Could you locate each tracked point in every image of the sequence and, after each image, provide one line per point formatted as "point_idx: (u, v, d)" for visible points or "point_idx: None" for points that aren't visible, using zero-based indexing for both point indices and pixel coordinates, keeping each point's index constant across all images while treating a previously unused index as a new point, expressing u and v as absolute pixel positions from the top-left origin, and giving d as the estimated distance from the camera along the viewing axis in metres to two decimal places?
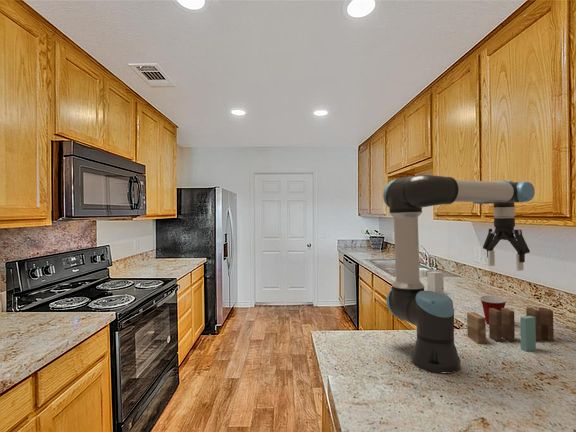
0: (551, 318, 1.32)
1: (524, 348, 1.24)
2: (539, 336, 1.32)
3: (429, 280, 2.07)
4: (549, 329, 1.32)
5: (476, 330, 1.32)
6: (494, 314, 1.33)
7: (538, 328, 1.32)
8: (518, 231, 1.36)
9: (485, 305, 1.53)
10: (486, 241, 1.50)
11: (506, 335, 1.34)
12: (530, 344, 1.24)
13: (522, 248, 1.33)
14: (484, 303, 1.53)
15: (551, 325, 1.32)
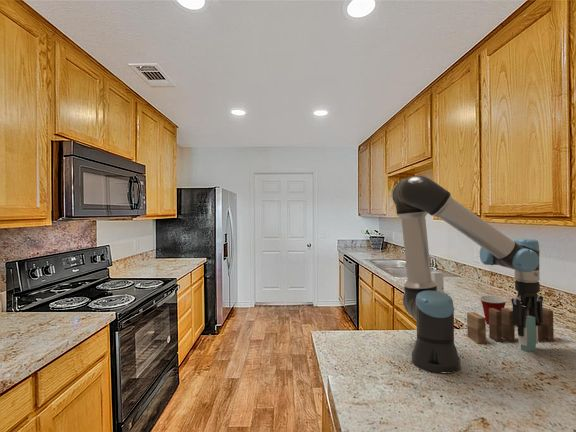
0: (551, 318, 1.32)
1: (524, 348, 1.24)
2: (539, 336, 1.32)
3: None
4: (549, 329, 1.32)
5: (476, 330, 1.32)
6: (494, 314, 1.33)
7: (538, 328, 1.32)
8: (513, 301, 1.23)
9: (485, 305, 1.53)
10: None
11: (506, 335, 1.34)
12: (530, 344, 1.24)
13: None
14: (484, 303, 1.53)
15: (551, 325, 1.32)
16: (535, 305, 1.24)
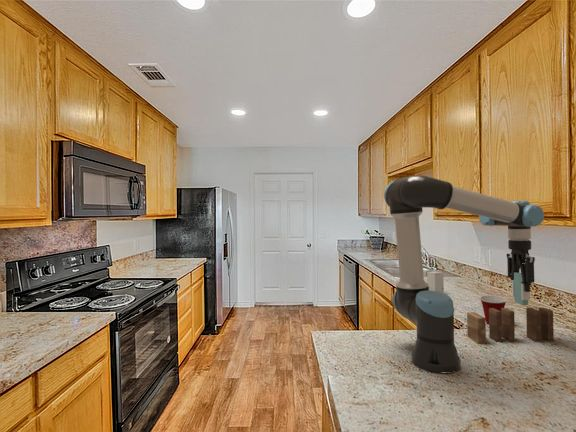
0: (551, 318, 1.32)
1: (526, 303, 1.32)
2: (539, 336, 1.32)
3: (429, 280, 2.07)
4: (549, 329, 1.32)
5: (476, 330, 1.32)
6: (494, 314, 1.33)
7: (538, 328, 1.32)
8: (530, 259, 1.28)
9: (485, 305, 1.53)
10: (508, 268, 1.40)
11: (506, 335, 1.34)
12: None
13: (527, 277, 1.29)
14: (484, 303, 1.53)
15: (551, 325, 1.32)
16: None
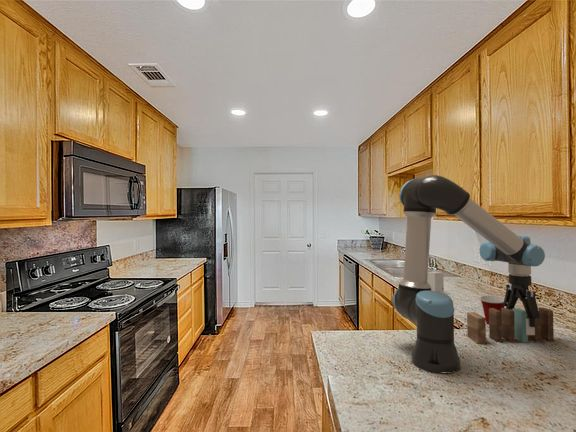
0: (551, 318, 1.32)
1: (526, 340, 1.32)
2: (539, 336, 1.32)
3: (429, 280, 2.07)
4: (549, 329, 1.32)
5: (476, 330, 1.32)
6: (494, 314, 1.33)
7: (538, 328, 1.32)
8: (530, 293, 1.28)
9: (485, 305, 1.53)
10: (505, 298, 1.42)
11: (506, 335, 1.34)
12: None
13: (531, 312, 1.27)
14: (484, 303, 1.53)
15: (551, 325, 1.32)
16: None
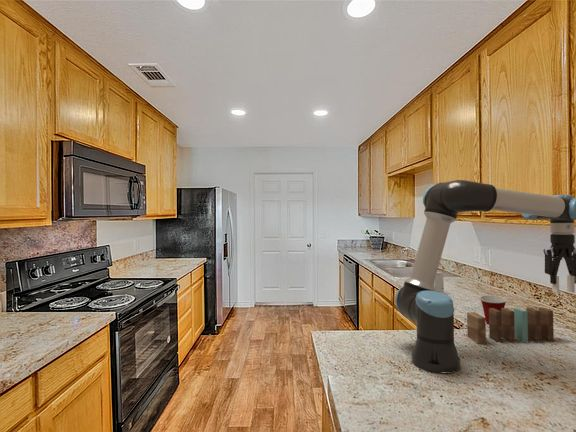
0: (551, 318, 1.32)
1: (526, 340, 1.32)
2: (539, 336, 1.32)
3: None
4: (549, 329, 1.32)
5: (476, 330, 1.32)
6: (494, 314, 1.33)
7: (538, 328, 1.32)
8: (545, 251, 1.35)
9: (485, 305, 1.53)
10: None
11: (506, 335, 1.34)
12: None
13: None
14: (484, 303, 1.53)
15: (551, 325, 1.32)
16: (570, 256, 1.33)
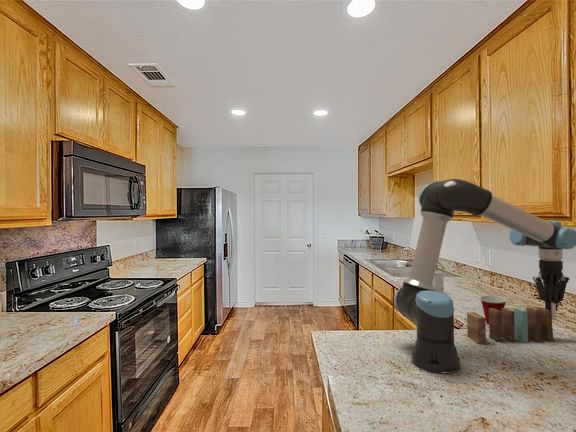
0: (549, 318, 1.32)
1: (526, 340, 1.32)
2: (539, 336, 1.32)
3: None
4: (548, 329, 1.32)
5: (476, 330, 1.32)
6: (494, 314, 1.33)
7: (538, 328, 1.32)
8: (534, 279, 1.35)
9: (485, 305, 1.53)
10: None
11: (506, 335, 1.34)
12: None
13: None
14: (484, 303, 1.53)
15: (550, 325, 1.32)
16: (556, 283, 1.33)
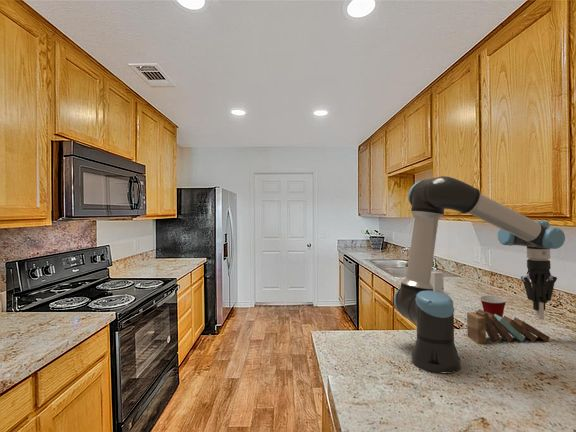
0: (529, 326, 1.32)
1: (522, 338, 1.32)
2: (532, 335, 1.32)
3: None
4: (537, 334, 1.32)
5: (476, 330, 1.32)
6: None
7: (525, 331, 1.32)
8: (522, 279, 1.35)
9: (485, 305, 1.53)
10: None
11: (503, 336, 1.34)
12: None
13: None
14: (484, 303, 1.53)
15: (535, 330, 1.32)
16: (544, 282, 1.33)
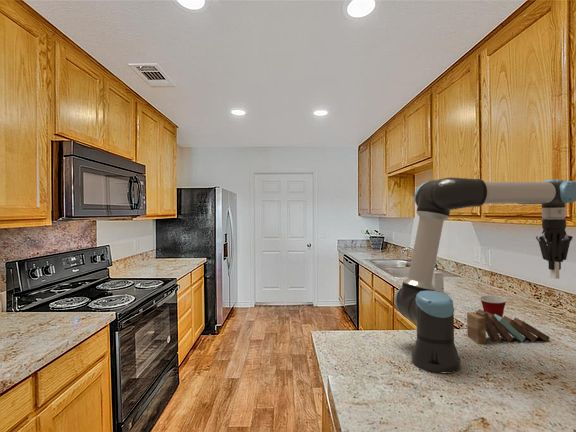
0: (529, 326, 1.32)
1: (522, 338, 1.32)
2: (532, 335, 1.32)
3: None
4: (537, 334, 1.32)
5: (476, 330, 1.32)
6: None
7: (525, 331, 1.32)
8: (537, 239, 1.35)
9: (485, 305, 1.53)
10: None
11: (503, 336, 1.34)
12: None
13: None
14: (484, 303, 1.53)
15: (535, 330, 1.32)
16: (560, 241, 1.33)
